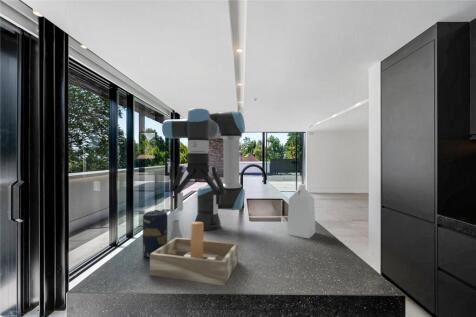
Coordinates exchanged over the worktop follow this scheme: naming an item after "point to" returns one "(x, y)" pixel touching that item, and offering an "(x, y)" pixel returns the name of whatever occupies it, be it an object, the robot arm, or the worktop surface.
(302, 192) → the milk
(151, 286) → the worktop surface
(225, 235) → the worktop surface
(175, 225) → the flask
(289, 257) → the worktop surface
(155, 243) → the canister
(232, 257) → the open box
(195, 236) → the peg
